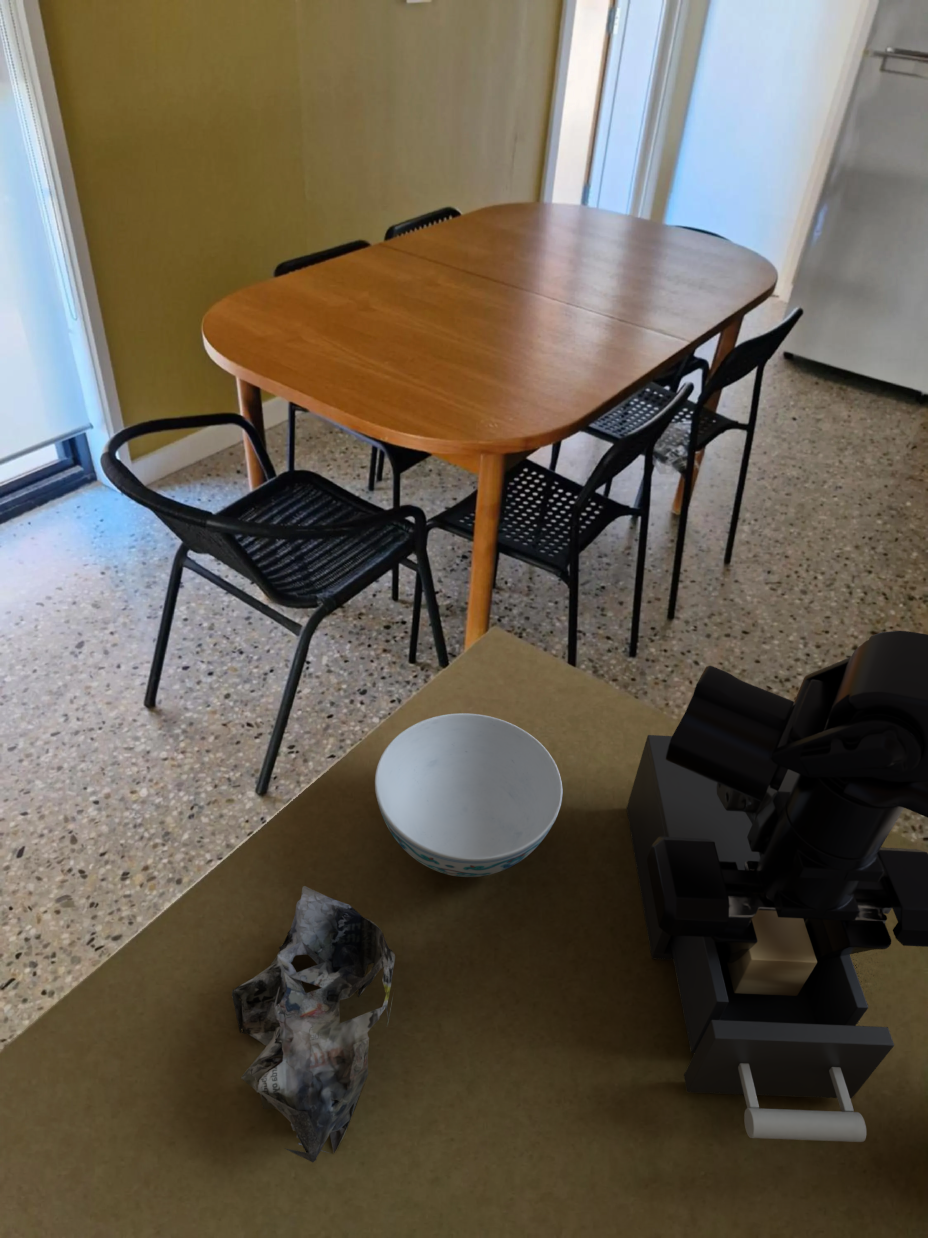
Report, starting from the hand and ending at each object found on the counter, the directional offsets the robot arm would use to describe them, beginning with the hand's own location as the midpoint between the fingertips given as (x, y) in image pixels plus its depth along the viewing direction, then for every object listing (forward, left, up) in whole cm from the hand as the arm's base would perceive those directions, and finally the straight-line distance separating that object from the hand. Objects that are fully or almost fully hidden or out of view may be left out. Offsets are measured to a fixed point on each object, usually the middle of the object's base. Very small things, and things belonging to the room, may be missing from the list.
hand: (761, 958), depth 63 cm
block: (0, 0, -1) cm, 1 cm away
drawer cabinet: (0, -10, -6) cm, 12 cm away
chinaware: (+21, -13, -6) cm, 25 cm away
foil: (+31, +4, -6) cm, 32 cm away
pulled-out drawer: (0, +3, -5) cm, 5 cm away
